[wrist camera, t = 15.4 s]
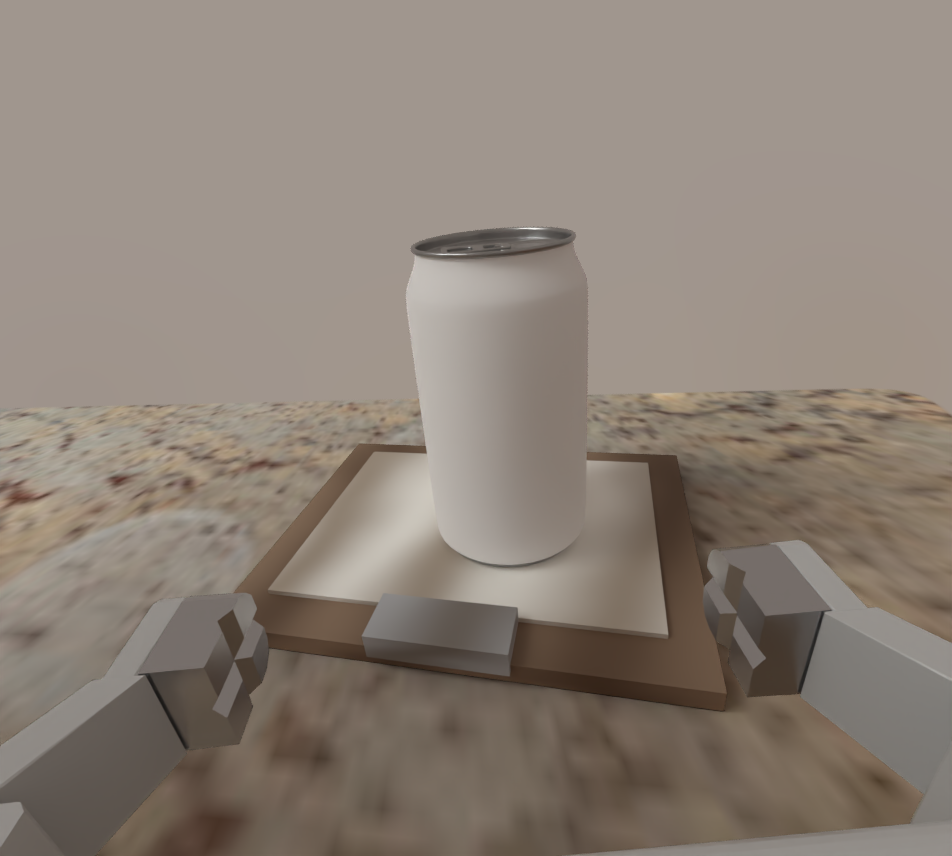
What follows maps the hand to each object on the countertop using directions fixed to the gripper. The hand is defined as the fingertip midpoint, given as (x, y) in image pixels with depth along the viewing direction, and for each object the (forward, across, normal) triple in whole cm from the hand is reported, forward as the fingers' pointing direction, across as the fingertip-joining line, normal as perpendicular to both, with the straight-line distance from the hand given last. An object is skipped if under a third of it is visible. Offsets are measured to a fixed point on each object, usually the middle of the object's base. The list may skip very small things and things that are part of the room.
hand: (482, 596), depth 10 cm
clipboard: (+12, 0, +8) cm, 15 cm away
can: (+12, -1, +8) cm, 14 cm away
